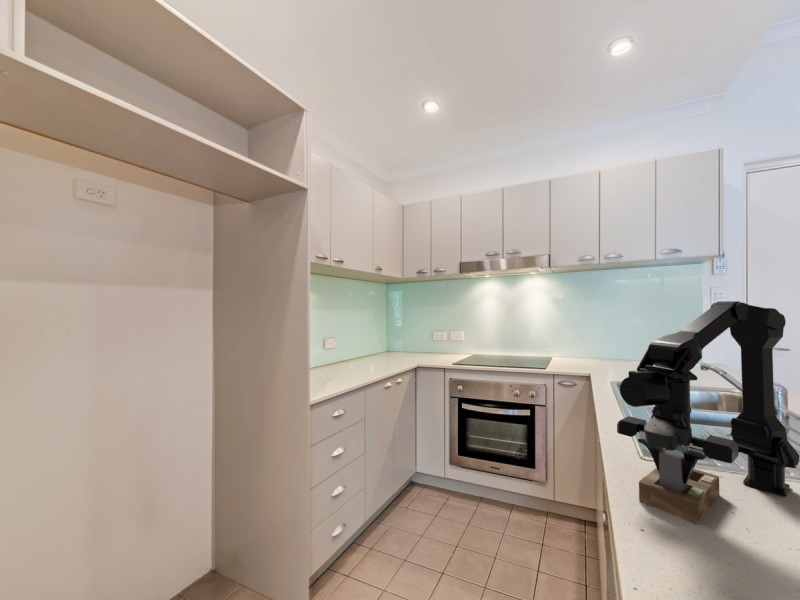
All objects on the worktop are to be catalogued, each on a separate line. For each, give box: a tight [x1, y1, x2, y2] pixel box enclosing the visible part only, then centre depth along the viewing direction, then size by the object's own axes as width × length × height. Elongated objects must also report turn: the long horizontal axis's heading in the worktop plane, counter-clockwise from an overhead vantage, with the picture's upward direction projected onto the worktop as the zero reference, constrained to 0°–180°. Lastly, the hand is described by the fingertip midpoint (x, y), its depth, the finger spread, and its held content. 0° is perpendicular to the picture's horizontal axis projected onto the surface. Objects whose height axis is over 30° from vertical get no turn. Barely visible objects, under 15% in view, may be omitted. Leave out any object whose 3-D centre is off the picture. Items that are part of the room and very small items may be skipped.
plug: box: [659, 448, 687, 495], centre depth 71 cm, size 4×4×8 cm
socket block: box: [638, 467, 720, 525], centre depth 73 cm, size 16×9×4 cm, turn 126°
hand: (673, 479), depth 71 cm, fingers closed on plug, 3 cm apart
